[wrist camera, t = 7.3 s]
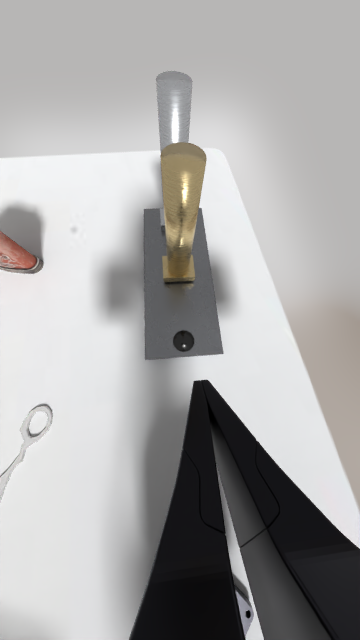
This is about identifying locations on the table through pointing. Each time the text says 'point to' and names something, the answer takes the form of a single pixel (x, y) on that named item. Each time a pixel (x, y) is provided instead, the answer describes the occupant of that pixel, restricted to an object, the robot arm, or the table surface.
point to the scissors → (25, 443)
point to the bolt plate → (166, 297)
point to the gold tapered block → (181, 206)
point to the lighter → (17, 258)
